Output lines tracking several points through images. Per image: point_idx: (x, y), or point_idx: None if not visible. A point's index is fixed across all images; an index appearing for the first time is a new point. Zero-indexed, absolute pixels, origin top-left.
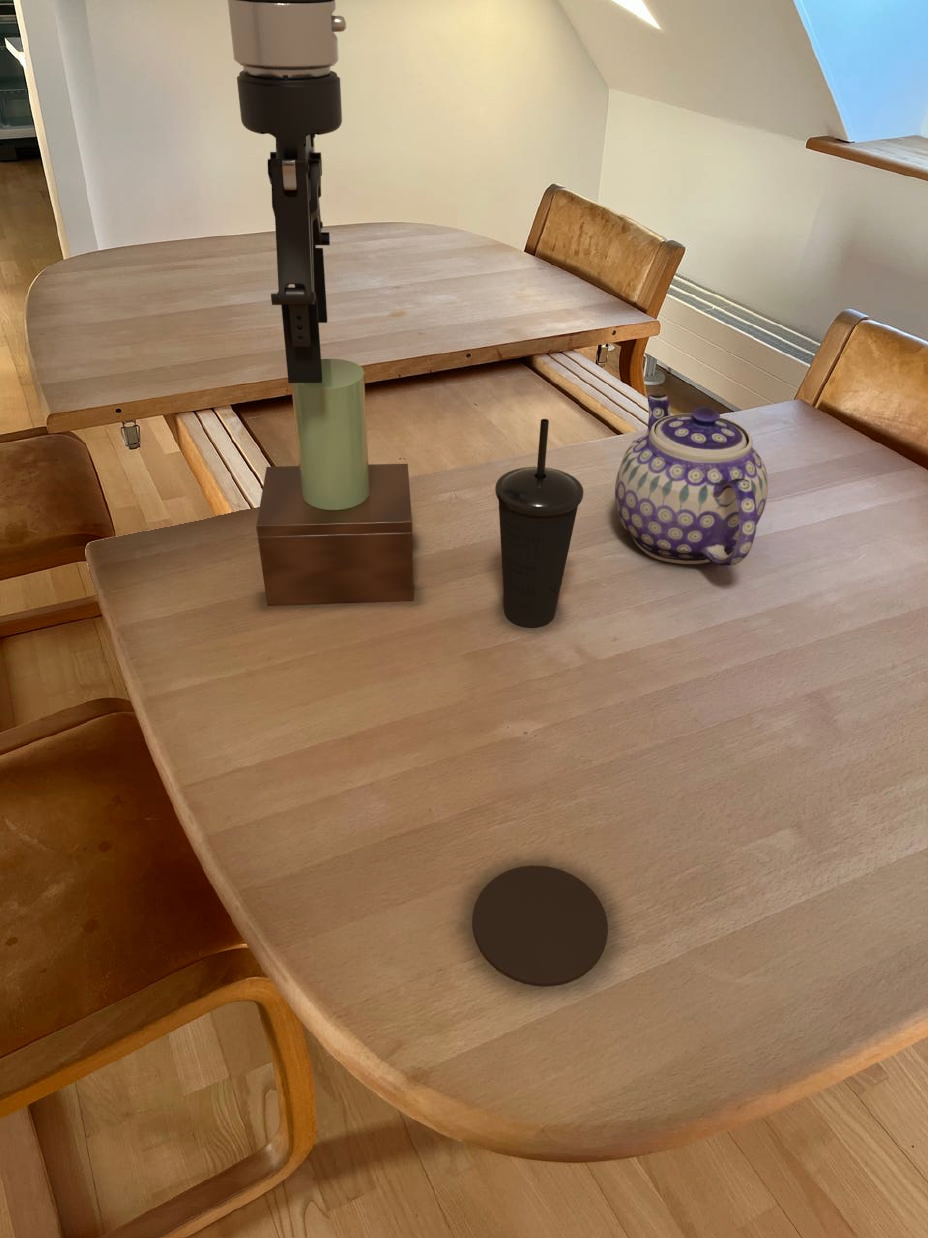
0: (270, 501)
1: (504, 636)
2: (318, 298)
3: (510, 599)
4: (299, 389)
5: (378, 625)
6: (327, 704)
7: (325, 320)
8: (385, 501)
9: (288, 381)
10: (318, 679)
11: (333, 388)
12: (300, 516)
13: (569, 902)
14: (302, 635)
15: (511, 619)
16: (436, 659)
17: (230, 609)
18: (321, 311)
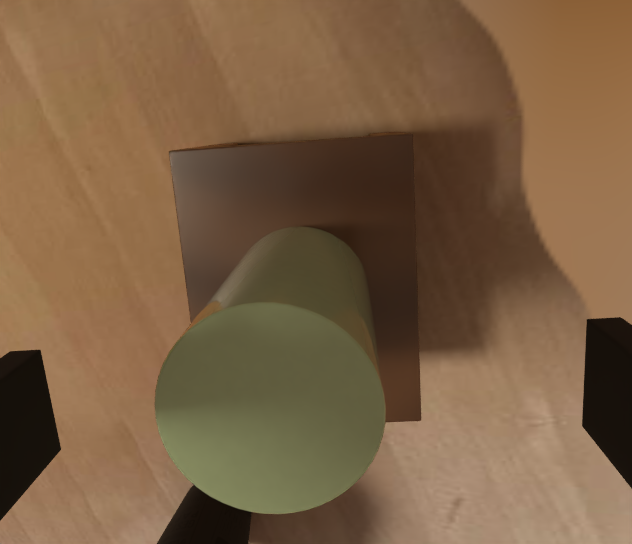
0: (263, 165)
1: (165, 473)
2: (629, 454)
3: (182, 505)
4: (185, 331)
5: (176, 314)
6: (8, 258)
7: (587, 424)
8: None
9: (8, 353)
10: (54, 241)
11: (161, 437)
12: (209, 233)
13: None
14: (145, 209)
15: (192, 487)
16: (111, 390)
17: (200, 86)
18: (600, 432)
